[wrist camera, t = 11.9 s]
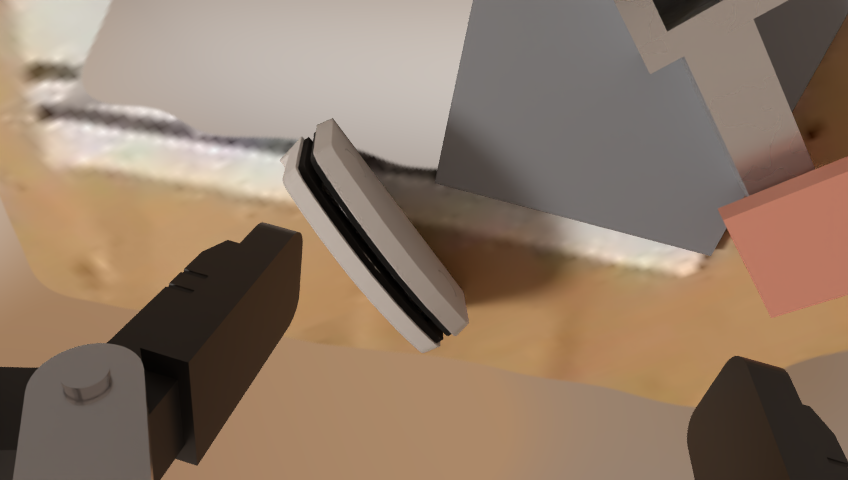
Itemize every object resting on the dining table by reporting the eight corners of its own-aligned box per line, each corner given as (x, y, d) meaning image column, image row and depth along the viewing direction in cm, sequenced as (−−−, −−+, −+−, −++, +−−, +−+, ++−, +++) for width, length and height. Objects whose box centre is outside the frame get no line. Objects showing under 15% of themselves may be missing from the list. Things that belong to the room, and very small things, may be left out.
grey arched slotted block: (280, 151, 40) (247, 185, 31) (332, 112, 39) (315, 135, 30) (414, 317, 45) (421, 391, 36) (463, 286, 45) (483, 352, 35)
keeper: (691, 153, 34) (722, 220, 27) (801, 103, 31) (868, 163, 24) (734, 242, 36) (774, 324, 29) (840, 202, 33) (913, 283, 26)
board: (510, -169, 28) (508, -170, 27) (897, -90, 26) (906, -90, 25) (437, 178, 38) (434, 183, 38) (708, 249, 37) (710, 255, 36)
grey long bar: (587, -55, 29) (589, -47, 25) (711, -140, 26) (738, -147, 22) (710, 194, 34) (730, 235, 30) (825, 146, 31) (864, 184, 27)
